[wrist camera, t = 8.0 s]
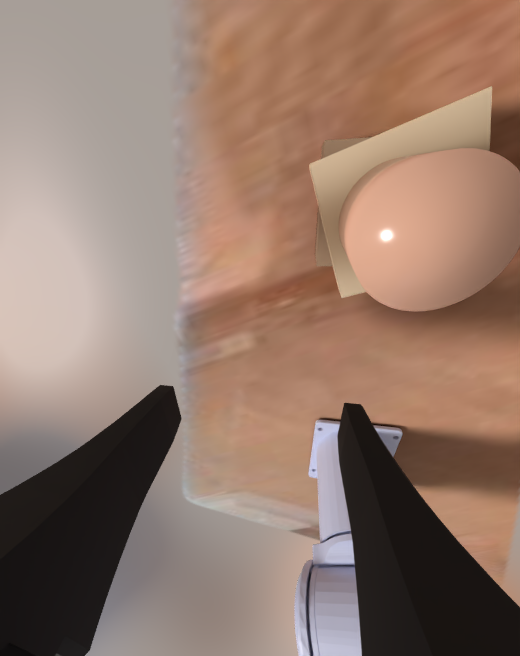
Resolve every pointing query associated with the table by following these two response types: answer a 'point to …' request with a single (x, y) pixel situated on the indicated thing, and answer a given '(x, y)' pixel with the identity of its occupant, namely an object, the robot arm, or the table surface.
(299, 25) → the table surface
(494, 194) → the tan cylinder
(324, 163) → the tower top
